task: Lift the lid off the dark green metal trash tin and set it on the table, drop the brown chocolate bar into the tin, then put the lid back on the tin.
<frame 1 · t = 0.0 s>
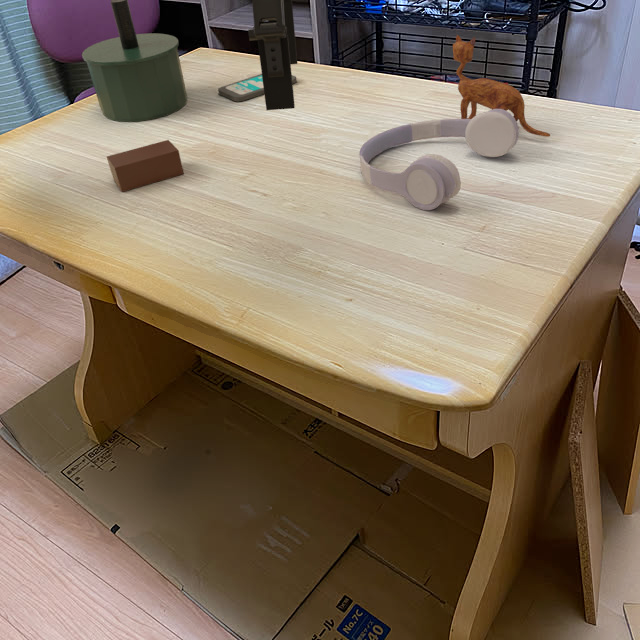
hand: (283, 84, 65), 21 cm above the table, tool pointing down, fingers open, 13 cm apart
smartphone: (258, 88, 127), on the table
tin lid: (131, 50, 117), point 10 cm above the table, touching trash tin
chocolate bar: (148, 177, 98), on the table
headphones: (426, 169, 94), on the table
trash tin: (145, 105, 124), on the table
cat figurine: (496, 132, 102), on the table
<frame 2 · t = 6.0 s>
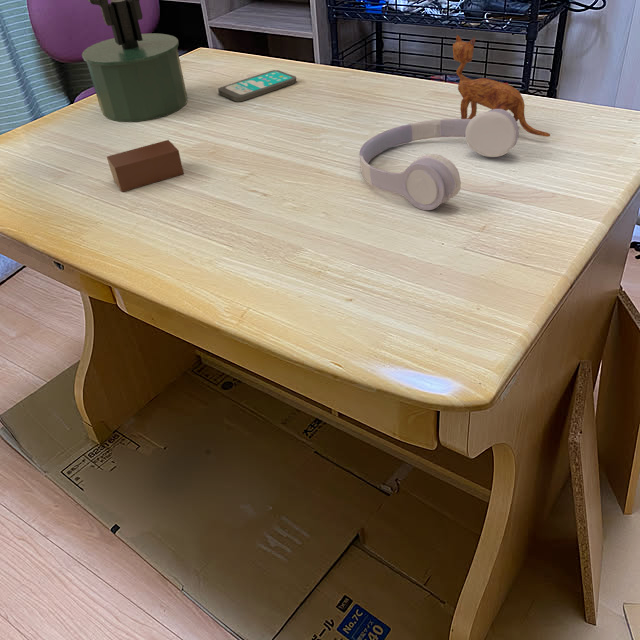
hand: (129, 41, 116), 12 cm above the table, tool pointing down, fingers closed on tin lid, 3 cm apart
tin lid: (131, 50, 117), point 11 cm above the table, touching gripper, trash tin
everything else where it was.
when the fingers open (2 cm above the table, at t = 14.5 s): tin lid stays where it is, point 1 cm above the table.
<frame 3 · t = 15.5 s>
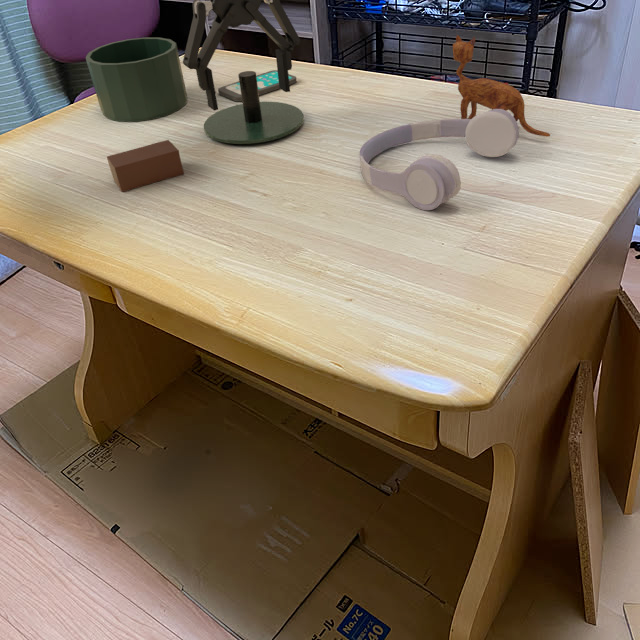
hand: (249, 98, 108), 5 cm above the table, tool pointing down, fingers open, 13 cm apart
tin lid: (254, 123, 111), point 1 cm above the table
everything else where it was.
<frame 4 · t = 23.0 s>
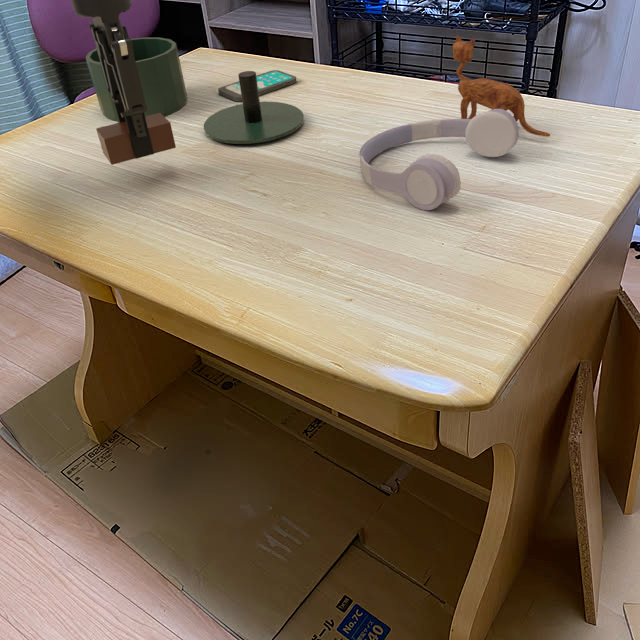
hand: (139, 148, 95), 5 cm above the table, tool pointing down, fingers closed on chocolate bar, 5 cm apart
chocolate bar: (139, 150, 95), point 4 cm above the table, touching gripper
everything else where it was.
when the fingers open (15 cm above the table, at t = 28.6 s): chocolate bar drops 14 cm, resting on trash tin.
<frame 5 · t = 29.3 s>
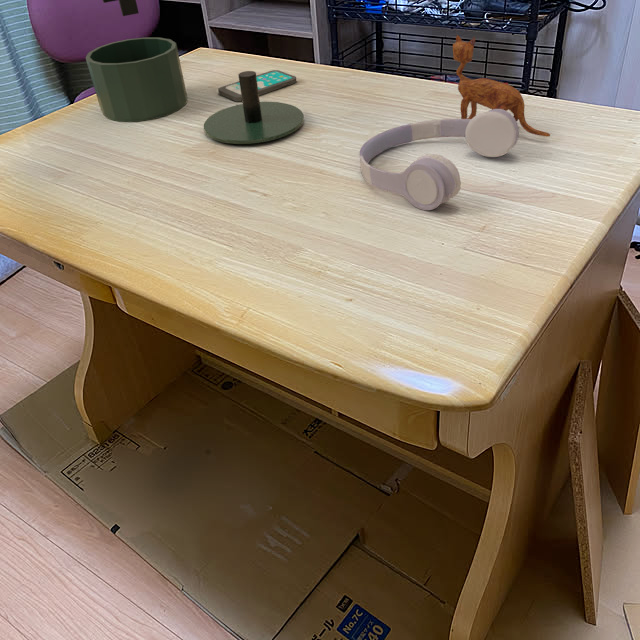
hand: (120, 7, 112), 18 cm above the table, tool pointing down, fingers open, 13 cm apart
chocolate bar: (144, 103, 123), resting on trash tin
everything else where it was.
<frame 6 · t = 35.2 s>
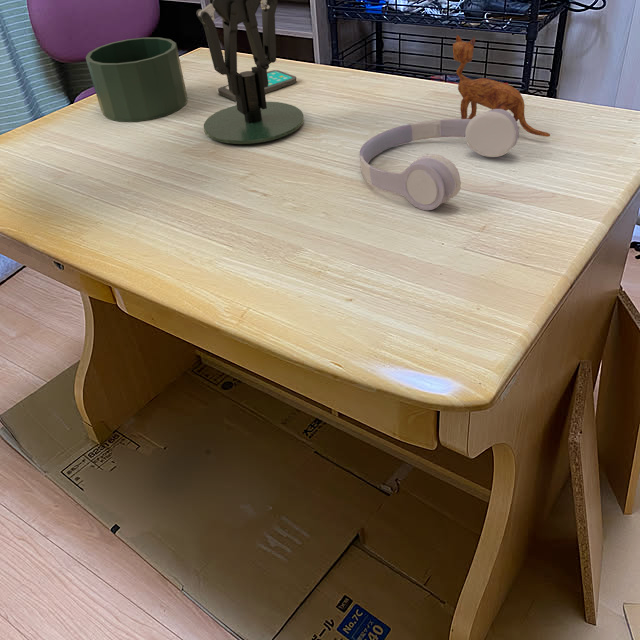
hand: (252, 109, 109), 3 cm above the table, tool pointing down, fingers closed on tin lid, 3 cm apart
tin lid: (254, 123, 111), point 1 cm above the table, touching gripper
everything else where it was.
when the fingers open (13 cm above the table, at t = 42.4 s): tin lid stays where it is, resting on trash tin.
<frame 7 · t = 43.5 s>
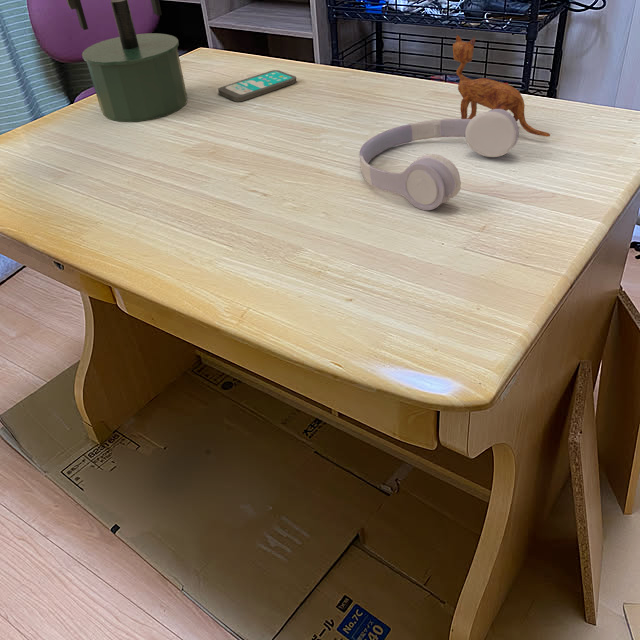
hand: (121, 21, 113), 16 cm above the table, tool pointing down, fingers open, 13 cm apart
tin lid: (131, 50, 117), point 10 cm above the table, touching trash tin
everything else where it was.
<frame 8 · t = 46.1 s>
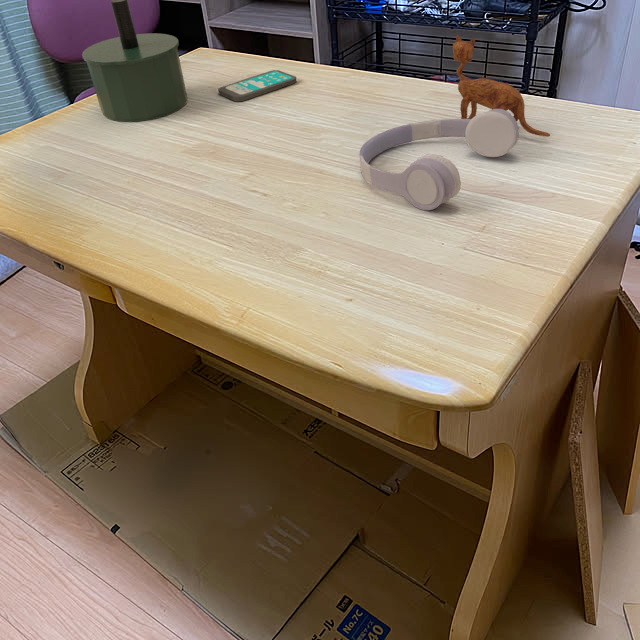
nothing on the table moved.
at the end: chocolate bar inside the target area in the trash tin (0.0 cm from its centre), point 0.5 cm above the trash tin's base; tin lid 0.0 cm off-centre on the trash tin, point 10.5 cm above the trash tin's base; tin lid tilted 0° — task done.
